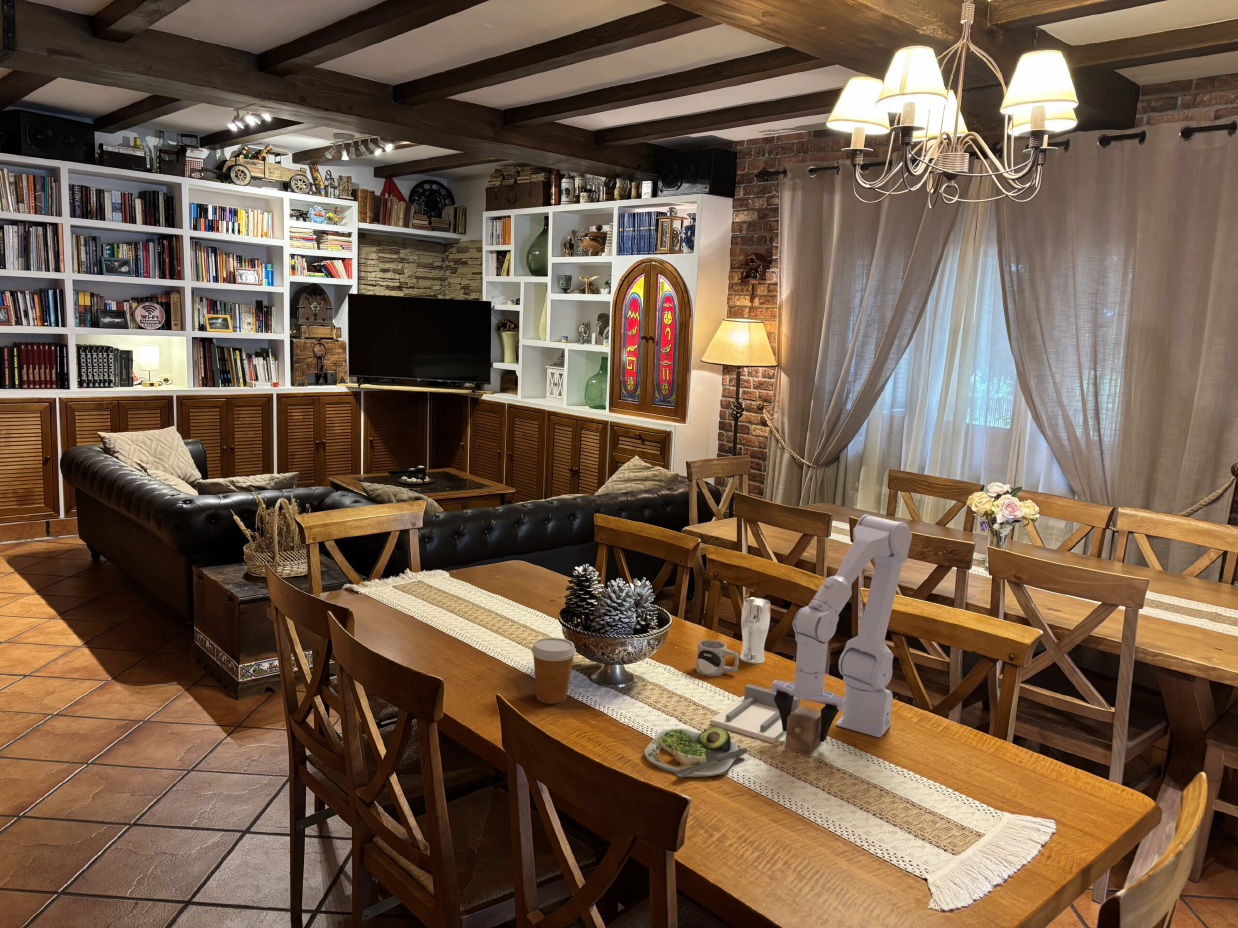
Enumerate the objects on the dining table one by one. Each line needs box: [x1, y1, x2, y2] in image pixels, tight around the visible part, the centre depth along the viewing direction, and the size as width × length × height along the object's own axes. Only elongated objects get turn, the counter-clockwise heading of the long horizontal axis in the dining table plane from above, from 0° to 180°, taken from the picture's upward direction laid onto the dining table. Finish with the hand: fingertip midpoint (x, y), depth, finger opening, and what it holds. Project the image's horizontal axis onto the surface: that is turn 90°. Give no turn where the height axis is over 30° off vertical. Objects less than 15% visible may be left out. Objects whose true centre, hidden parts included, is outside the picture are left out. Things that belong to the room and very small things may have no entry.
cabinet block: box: [784, 705, 823, 756], centre depth 179 cm, size 5×8×6 cm, turn 148°
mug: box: [695, 639, 740, 677], centre depth 216 cm, size 10×7×7 cm, turn 71°
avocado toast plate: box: [643, 726, 749, 778], centre depth 170 cm, size 19×18×5 cm
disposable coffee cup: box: [531, 637, 577, 705], centre depth 195 cm, size 10×10×12 cm
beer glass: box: [739, 597, 771, 665], centre depth 226 cm, size 7×7×15 cm
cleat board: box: [709, 683, 801, 744], centre depth 190 cm, size 14×16×4 cm
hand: (804, 734), depth 179 cm, fingers open, 7 cm apart
